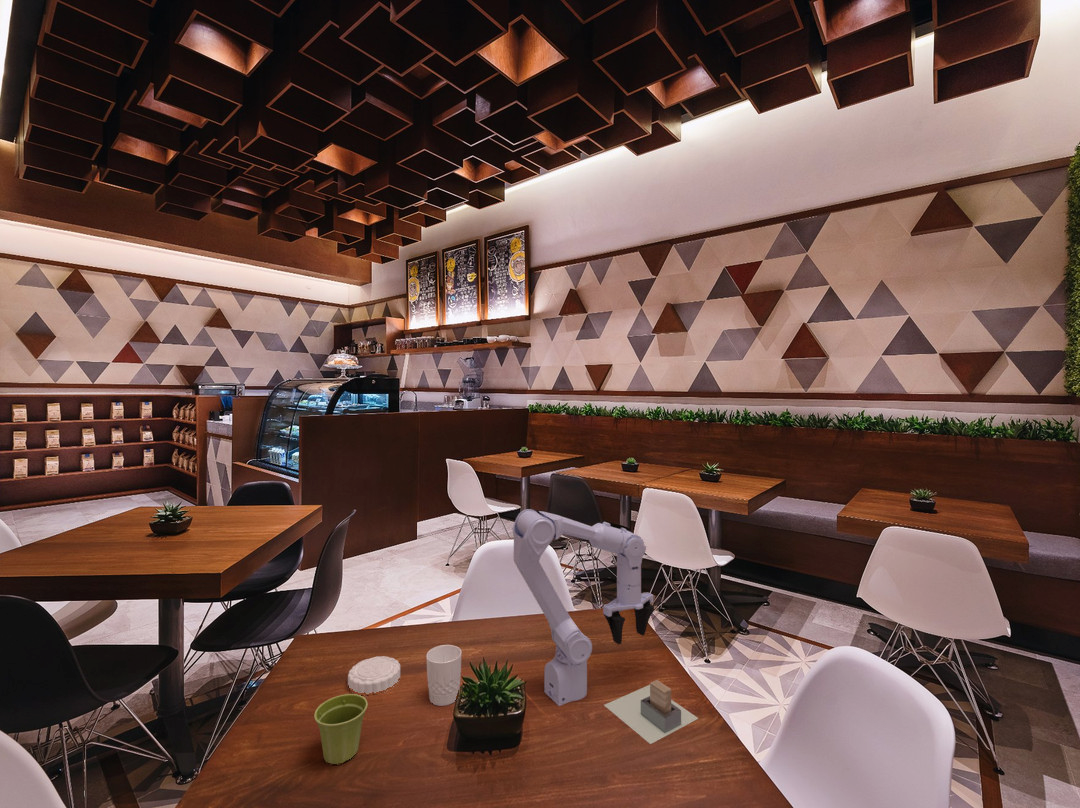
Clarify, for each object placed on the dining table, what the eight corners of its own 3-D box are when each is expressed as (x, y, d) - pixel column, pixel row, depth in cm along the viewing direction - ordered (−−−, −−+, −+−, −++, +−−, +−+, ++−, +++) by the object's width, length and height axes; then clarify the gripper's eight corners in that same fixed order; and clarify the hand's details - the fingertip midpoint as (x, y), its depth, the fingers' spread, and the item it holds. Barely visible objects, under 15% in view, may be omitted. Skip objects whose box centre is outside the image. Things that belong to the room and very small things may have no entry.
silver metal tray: (664, 733, 95) (664, 718, 95) (640, 714, 100) (640, 700, 100) (681, 724, 97) (681, 710, 97) (656, 706, 103) (656, 692, 103)
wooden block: (664, 726, 97) (664, 692, 97) (650, 715, 100) (650, 682, 100) (671, 723, 98) (671, 689, 98) (656, 712, 101) (656, 679, 101)
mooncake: (348, 702, 106) (348, 686, 106) (347, 674, 117) (347, 660, 117) (403, 689, 111) (403, 674, 111) (397, 663, 122) (397, 650, 122)
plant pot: (328, 735, 95) (328, 692, 95) (374, 736, 95) (374, 693, 95) (304, 771, 86) (304, 724, 86) (355, 773, 86) (355, 725, 86)
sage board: (650, 749, 92) (650, 744, 92) (603, 709, 103) (603, 705, 103) (698, 723, 99) (698, 718, 99) (649, 688, 111) (649, 684, 111)
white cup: (423, 691, 110) (423, 648, 110) (457, 683, 113) (457, 641, 113) (430, 711, 103) (429, 666, 103) (465, 702, 106) (465, 658, 106)
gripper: (617, 594, 107) (617, 654, 107) (662, 581, 115) (662, 636, 115) (597, 584, 113) (597, 640, 113) (641, 572, 120) (641, 625, 121)
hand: (629, 638), depth 114 cm, fingers open, 7 cm apart
